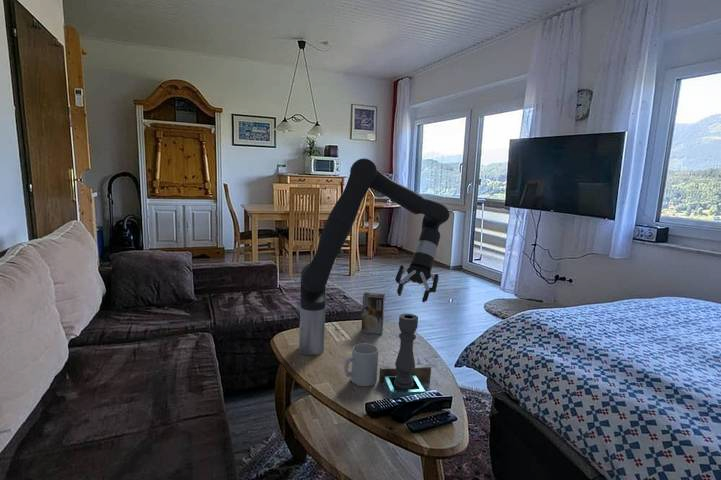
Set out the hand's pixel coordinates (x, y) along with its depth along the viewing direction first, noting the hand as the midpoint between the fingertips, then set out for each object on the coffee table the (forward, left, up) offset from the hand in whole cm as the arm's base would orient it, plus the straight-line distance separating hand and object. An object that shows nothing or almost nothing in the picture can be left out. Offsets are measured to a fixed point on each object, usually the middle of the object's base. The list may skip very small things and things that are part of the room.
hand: (411, 298), depth 137 cm
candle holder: (-5, -15, -26) cm, 30 cm away
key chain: (+3, 0, -27) cm, 27 cm away
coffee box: (-5, +35, -26) cm, 44 cm away
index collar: (-5, -15, -26) cm, 30 cm away
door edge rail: (-3, -8, -26) cm, 27 cm away
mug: (-18, -7, -26) cm, 32 cm away
